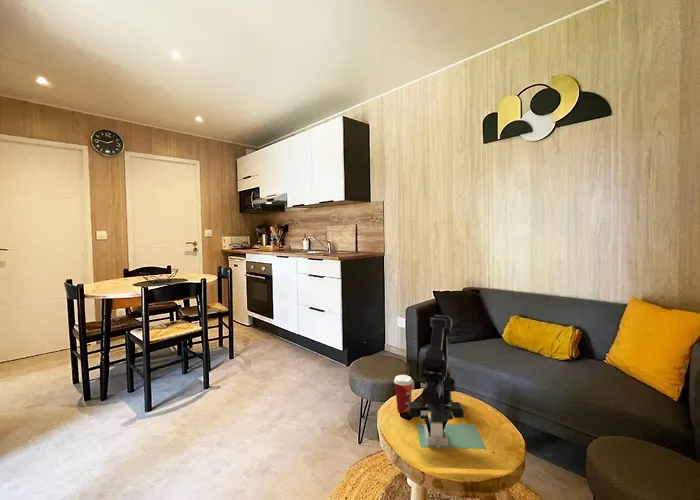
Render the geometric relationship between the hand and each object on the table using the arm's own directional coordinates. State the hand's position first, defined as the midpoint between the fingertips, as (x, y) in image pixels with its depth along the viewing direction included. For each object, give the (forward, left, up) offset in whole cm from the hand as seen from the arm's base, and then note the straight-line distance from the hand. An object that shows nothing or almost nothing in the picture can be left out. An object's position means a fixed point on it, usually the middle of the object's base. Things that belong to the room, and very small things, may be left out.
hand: (435, 432), depth 119 cm
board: (-2, +5, -3) cm, 6 cm away
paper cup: (-20, -10, -4) cm, 23 cm away
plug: (0, 0, -1) cm, 1 cm away
